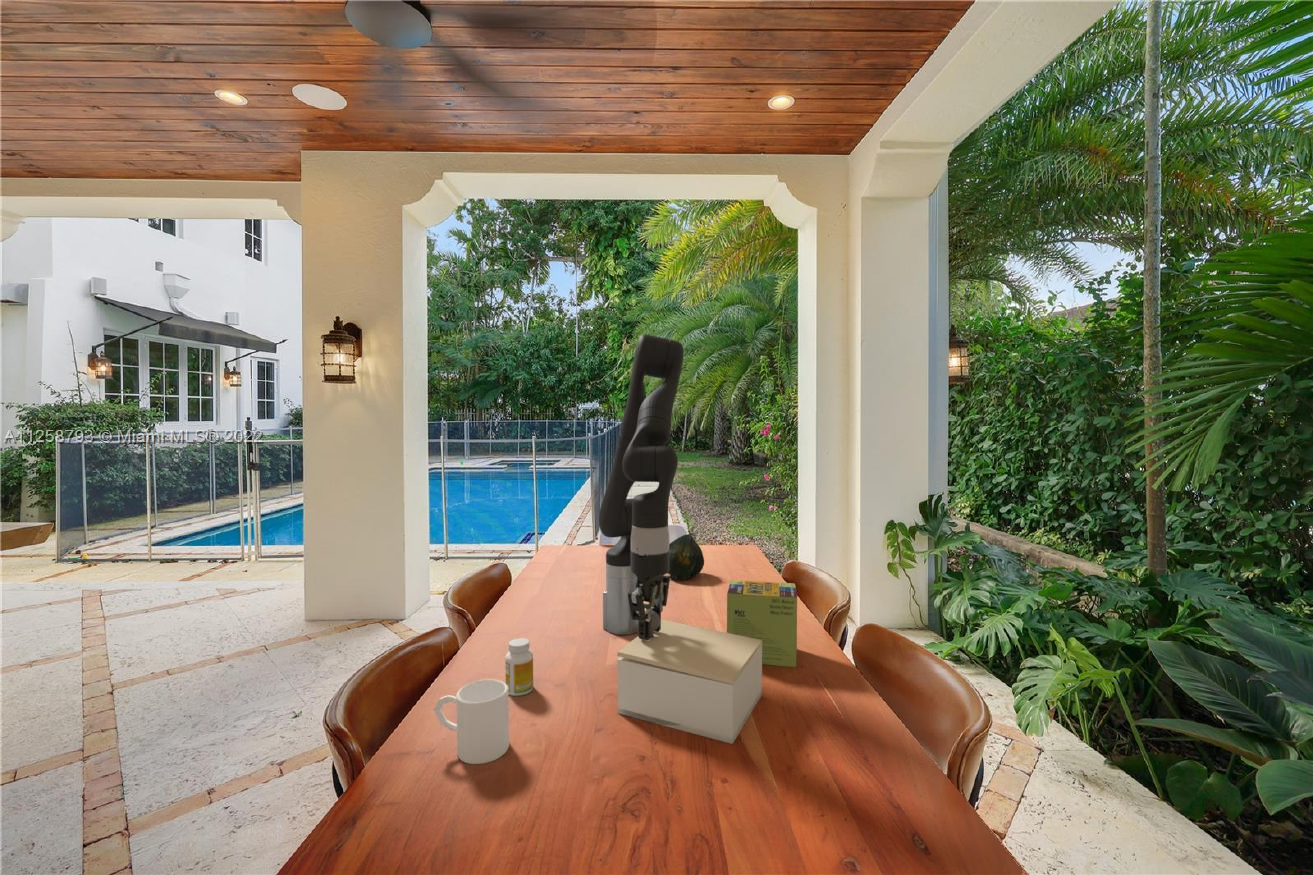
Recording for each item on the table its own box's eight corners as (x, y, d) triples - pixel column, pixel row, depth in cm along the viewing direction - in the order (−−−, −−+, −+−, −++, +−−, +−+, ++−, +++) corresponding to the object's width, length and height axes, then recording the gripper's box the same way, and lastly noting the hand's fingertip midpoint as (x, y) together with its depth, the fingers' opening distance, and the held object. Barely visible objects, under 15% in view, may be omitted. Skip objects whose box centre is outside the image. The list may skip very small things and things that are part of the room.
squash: (650, 565, 182) (680, 532, 181) (657, 555, 197) (685, 525, 195) (681, 595, 181) (712, 562, 179) (687, 583, 195) (715, 552, 194)
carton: (617, 713, 101) (617, 659, 101) (660, 672, 118) (660, 626, 117) (732, 744, 92) (732, 685, 91) (761, 695, 108) (762, 644, 107)
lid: (617, 656, 101) (617, 624, 101) (660, 623, 117) (660, 595, 117) (732, 684, 91) (733, 649, 91) (762, 644, 107) (762, 614, 107)
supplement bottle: (538, 685, 112) (538, 638, 112) (523, 698, 107) (523, 649, 106) (515, 681, 114) (515, 635, 113) (500, 694, 109) (499, 645, 108)
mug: (444, 735, 95) (443, 678, 94) (514, 735, 95) (513, 678, 94) (424, 765, 87) (423, 703, 86) (501, 764, 87) (500, 703, 86)
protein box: (797, 668, 120) (798, 597, 119) (726, 662, 123) (726, 592, 122) (795, 648, 130) (795, 582, 129) (729, 643, 133) (729, 579, 132)
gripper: (649, 538, 115) (649, 619, 116) (614, 554, 103) (614, 644, 103) (682, 542, 112) (681, 625, 113) (650, 558, 99) (650, 652, 100)
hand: (649, 634), depth 108 cm, fingers closed on lid, 4 cm apart
